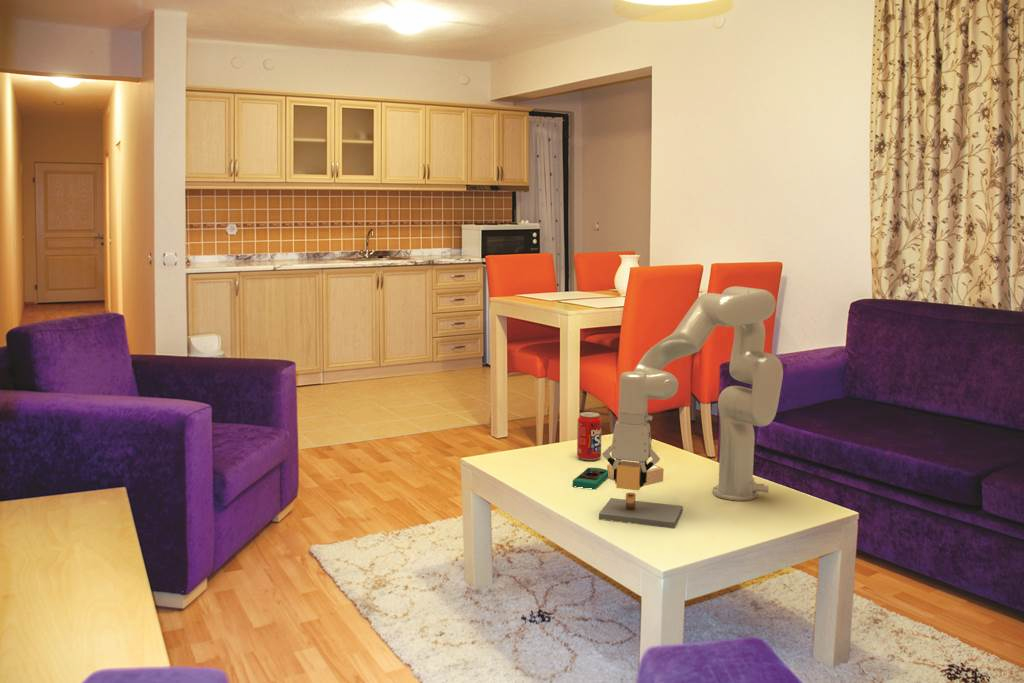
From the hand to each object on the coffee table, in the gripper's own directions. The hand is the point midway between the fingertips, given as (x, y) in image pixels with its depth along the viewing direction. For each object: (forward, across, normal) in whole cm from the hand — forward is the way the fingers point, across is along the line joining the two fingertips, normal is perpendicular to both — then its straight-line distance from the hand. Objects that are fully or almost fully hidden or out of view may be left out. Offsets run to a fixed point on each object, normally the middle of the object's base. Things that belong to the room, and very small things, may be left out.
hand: (629, 483), depth 243 cm
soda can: (+8, +24, -49) cm, 55 cm away
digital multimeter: (+9, +17, -25) cm, 32 cm away
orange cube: (+1, 0, 0) cm, 1 cm away
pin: (+7, 0, 0) cm, 7 cm away
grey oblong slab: (+9, -3, 0) cm, 9 cm away
